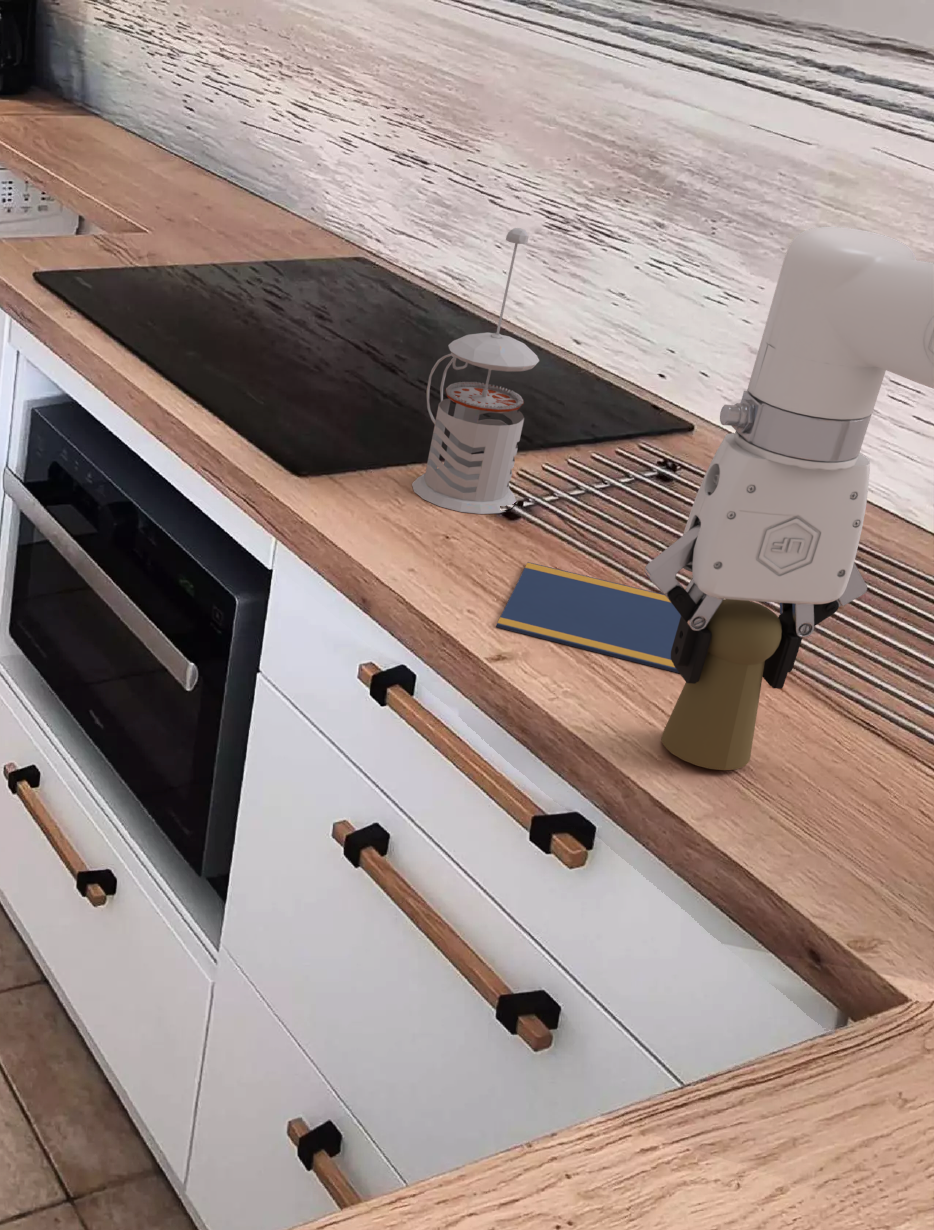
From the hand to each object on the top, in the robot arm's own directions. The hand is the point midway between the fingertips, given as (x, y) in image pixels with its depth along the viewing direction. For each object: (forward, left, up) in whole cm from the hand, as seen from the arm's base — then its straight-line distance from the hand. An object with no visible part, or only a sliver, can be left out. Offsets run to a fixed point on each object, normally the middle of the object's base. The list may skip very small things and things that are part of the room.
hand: (727, 674), depth 118 cm
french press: (+26, -40, -7) cm, 48 cm away
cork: (0, 0, -6) cm, 6 cm away
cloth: (+8, -19, -6) cm, 22 cm away
